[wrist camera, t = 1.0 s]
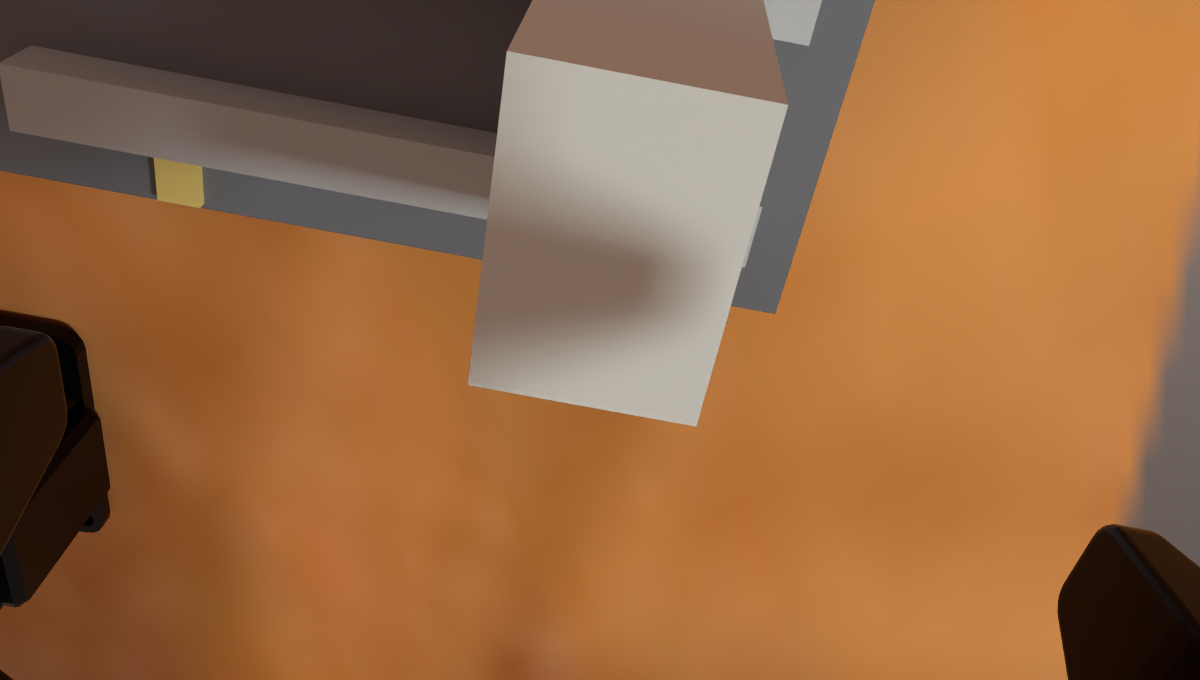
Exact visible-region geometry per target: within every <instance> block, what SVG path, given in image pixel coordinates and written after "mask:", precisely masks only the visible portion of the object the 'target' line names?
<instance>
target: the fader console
mask: <svg viewBox="0 0 1200 680" xmlns="http://www.w3.org/2000/svg"><path fill="white" fill-rule="evenodd" d="M531 2H532V0H0V171H6V172H11V173H17V174H22V175H27V176H33V177H38V178H44V179H49V180H54V181H60V182H65V183H71V184H76V185H81V186H87V187H92V188H98V189H103V190H108V191H114V192H119V193H125V194H130V195H135V196H141V197H146V198H152V199H157V200H158V201H164V202H169V203H174V204H180V205H185V206H191V207H196V208H206V209H211V210H216V211H222V212H227V213H233V214H238V215H243V216H249V217H254V218H260V219H265V220H270V221H276V222H281V223H287V224H292V225H297V226H303V227H308V228H314V229H319V230H324V231H330V232H335V233H341V234H346V235H351V236H357V237H362V238H368V239H373V240H378V241H384V242H389V243H395V244H400V245H405V246H411V247H416V248H422V249H427V250H433V251H438V252H443V253H449V254H454V255H460V256H465V257H470V258H476V259H481V260H483V251H484V243H485V234H486V225H487V217H488V208H489V200H490V191H491V183H492V174H493V165H494V157H495V148H496V140H497V131H498V123H499V114H500V105H501V97H502V88H503V80H504V71H505V62H506V54H507V50H508V48H509V46H510V44H511V42H512V40H513V38H514V36H515V34H516V32H517V30H518V28H519V26H520V24H521V22H522V20H523V18H524V16H525V14H526V12H527V10H528V8H529V6H530V4H531ZM874 2H875V0H764V5H765V9H766V13H767V17H768V21H769V26H770V30H771V34H772V38H773V42H774V47H775V51H776V55H777V59H778V63H779V68H780V72H781V76H782V80H783V84H784V89H785V93H786V97H787V101H788V108H787V111H786V115H785V118H784V122H783V125H782V129H781V132H780V136H779V139H778V143H777V146H776V150H775V153H774V157H773V160H772V164H771V167H770V171H769V174H768V178H767V181H766V185H765V188H764V192H763V195H762V199H761V202H760V206H759V209H758V213H757V216H756V220H755V223H754V226H753V230H752V233H751V237H750V240H749V244H748V247H747V251H746V254H745V258H744V261H743V265H742V268H741V272H740V275H739V279H738V282H737V286H736V289H735V293H734V296H733V300H732V303H731V306H735V307H740V308H746V309H751V310H757V311H762V312H767V313H773V314H775V313H776V310H777V306H778V303H779V300H780V297H781V294H782V291H783V288H784V284H785V281H786V278H787V275H788V272H789V269H790V266H791V262H792V259H793V256H794V253H795V250H796V247H797V244H798V240H799V237H800V234H801V231H802V228H803V225H804V222H805V219H806V215H807V212H808V209H809V206H810V203H811V200H812V197H813V193H814V190H815V187H816V184H817V181H818V178H819V175H820V171H821V168H822V165H823V162H824V159H825V156H826V153H827V149H828V146H829V143H830V140H831V137H832V134H833V131H834V127H835V124H836V121H837V118H838V115H839V112H840V109H841V105H842V102H843V99H844V96H845V93H846V90H847V87H848V83H849V80H850V77H851V74H852V71H853V68H854V65H855V61H856V58H857V55H858V52H859V49H860V46H861V43H862V39H863V36H864V33H865V30H866V27H867V24H868V21H869V17H870V14H871V11H872V8H873V5H874Z"/></svg>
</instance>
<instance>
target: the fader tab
mask: <svg viewBox="0 0 1200 680" xmlns="http://www.w3.org/2000/svg"><path fill="white" fill-rule="evenodd" d="M787 108H788V101H787V97H786V93H785V89H784V84H783V80H782V76H781V72H780V68H779V63H778V59H777V55H776V51H775V47H774V42H773V38H772V34H771V30H770V26H769V21H768V17H767V13H766V9H765V5H764V0H532V2H531V4H530V6H529V8H528V10H527V12H526V14H525V16H524V18H523V20H522V22H521V24H520V26H519V28H518V30H517V32H516V34H515V36H514V38H513V40H512V42H511V44H510V46H509V48H508V50H507V54H506V62H505V71H504V80H503V88H502V97H501V105H500V114H499V123H498V131H497V140H496V148H495V157H494V165H493V174H492V183H491V191H490V200H489V208H488V217H487V225H486V234H485V243H484V251H483V260H482V268H481V277H480V285H479V294H478V303H477V311H476V320H475V328H474V337H473V345H472V354H471V363H470V371H469V380H468V385H470V386H476V387H481V388H487V389H492V390H498V391H503V392H509V393H514V394H520V395H525V396H531V397H536V398H542V399H547V400H553V401H558V402H564V403H569V404H575V405H580V406H586V407H591V408H597V409H602V410H608V411H613V412H619V413H624V414H630V415H636V416H641V417H647V418H652V419H658V420H663V421H669V422H674V423H680V424H685V425H691V426H696V425H697V422H698V418H699V415H700V411H701V408H702V404H703V401H704V397H705V394H706V390H707V387H708V383H709V380H710V376H711V373H712V369H713V366H714V362H715V359H716V356H717V352H718V349H719V345H720V342H721V338H722V335H723V331H724V328H725V324H726V321H727V317H728V314H729V310H730V307H731V303H732V300H733V296H734V293H735V289H736V286H737V282H738V279H739V275H740V272H741V268H742V265H743V261H744V258H745V254H746V251H747V247H748V244H749V240H750V237H751V233H752V230H753V226H754V223H755V220H756V216H757V213H758V209H759V206H760V202H761V199H762V195H763V192H764V188H765V185H766V181H767V178H768V174H769V171H770V167H771V164H772V160H773V157H774V153H775V150H776V146H777V143H778V139H779V136H780V132H781V129H782V125H783V122H784V118H785V115H786V111H787Z"/></svg>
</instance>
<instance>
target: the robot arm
mask: <svg viewBox="0 0 1200 680" xmlns="http://www.w3.org/2000/svg"><path fill="white" fill-rule="evenodd" d="M56 345H58V346H60V347H61V348H62V349H64V350H65V352H64V351H61V350H60V349H58V348H57V347H56ZM109 489H110V481H109V475H108V468H107V461H106V454H105V448H104V441H103V434H102V427H101V420H100V417H99V416H98V414H97V412H96V410H95V408H94V402H93V395H92V388H91V382H90V375H89V368H88V362H87V355H86V348H85V345H84V343H83V340H82V339H81V338H80V337H79V336H78V334H76V333H75V332H73V331H72V330H70V329H68V328H65V327H61V326H56V325H50V324H45V323H39V322H34V321H28V320H23V319H17V318H12V317H6V316H1V315H0V609H1V608H2V607H3V605H5V606H11V607H19V606H21V605H22V604H24V603H25V602H26V601H28V600H29V599H30V598H31V597H32V596H33V594H34V593H35V591H36V590H37V589H38V587H39V586H40V584H41V583H42V582H43V580H44V579H45V578H46V576H47V575H48V573H49V572H50V571H51V569H52V568H53V567H54V565H55V564H56V562H57V561H58V560H59V558H60V557H61V556H62V554H63V553H64V551H65V550H66V549H67V547H68V546H69V545H70V543H71V542H72V540H73V539H74V538H75V536H76V535H77V533H78V532H79V531H82V532H96V531H99V530H100V529H101V528H102V527H103V525H104V524H105V522H106V521H107V520H108V518H109V516H110V508H109V501H108V495H107V492H108V491H109ZM1058 620H1059V626H1060V632H1061V638H1062V645H1063V651H1064V657H1065V663H1066V670H1067V676H1068V680H1200V567H1199V566H1198V565H1197V564H1195V563H1194V562H1193V561H1192V560H1190V559H1189V558H1188V557H1187V556H1185V555H1184V554H1183V553H1182V552H1180V551H1179V550H1178V549H1177V548H1176V547H1174V546H1173V545H1172V544H1171V543H1169V542H1168V541H1167V540H1166V539H1164V538H1163V537H1162V536H1161V535H1159V534H1157V533H1155V532H1153V531H1149V530H1145V529H1139V528H1134V527H1128V526H1122V525H1117V524H1111V525H1106V526H1104V527H1102V528H1101V529H1099V530H1098V531H1097V532H1096V533H1095V535H1094V536H1093V538H1092V539H1091V541H1090V542H1089V544H1088V546H1087V547H1086V549H1085V550H1084V552H1083V554H1082V555H1081V557H1080V558H1079V560H1078V562H1077V563H1076V565H1075V566H1074V568H1073V570H1072V571H1071V573H1070V574H1069V576H1068V578H1067V579H1066V581H1065V582H1064V584H1063V586H1062V589H1061V591H1060V594H1059V599H1058ZM0 680H13V679H12V678H11V677H9V676H8V675H7V674H5V673H4V672H3V671H1V670H0Z"/></svg>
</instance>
